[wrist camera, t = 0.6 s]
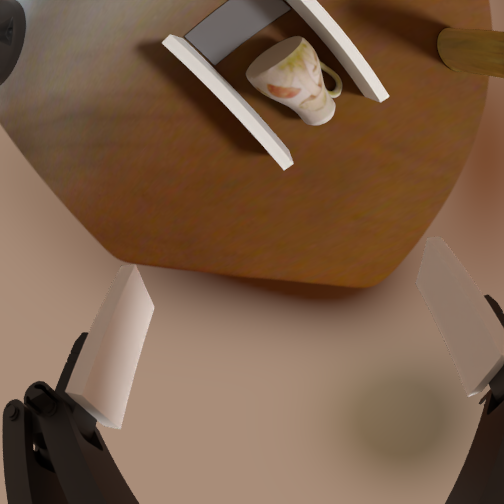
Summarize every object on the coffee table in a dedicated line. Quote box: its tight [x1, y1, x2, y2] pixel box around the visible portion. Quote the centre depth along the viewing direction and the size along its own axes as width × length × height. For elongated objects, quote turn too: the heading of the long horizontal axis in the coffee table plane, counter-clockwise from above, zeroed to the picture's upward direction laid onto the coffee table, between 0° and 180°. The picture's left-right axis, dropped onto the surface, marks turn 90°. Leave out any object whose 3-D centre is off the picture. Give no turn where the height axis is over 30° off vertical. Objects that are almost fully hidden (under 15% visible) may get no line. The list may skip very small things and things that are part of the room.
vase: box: [437, 28, 504, 78], centre depth 17 cm, size 6×6×14 cm
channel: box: [162, 0, 389, 170], centre depth 25 cm, size 18×14×5 cm
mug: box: [246, 36, 342, 125], centre depth 26 cm, size 8×10×10 cm
